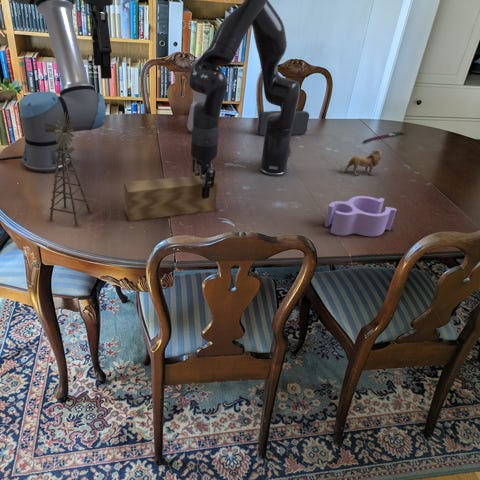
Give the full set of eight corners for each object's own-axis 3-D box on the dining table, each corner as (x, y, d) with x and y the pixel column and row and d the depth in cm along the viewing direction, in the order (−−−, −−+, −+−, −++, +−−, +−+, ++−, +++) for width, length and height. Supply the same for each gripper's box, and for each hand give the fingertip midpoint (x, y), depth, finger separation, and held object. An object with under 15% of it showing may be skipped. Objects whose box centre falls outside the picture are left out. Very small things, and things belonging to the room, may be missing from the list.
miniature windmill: (76, 226, 128) (64, 120, 112) (48, 221, 129) (32, 115, 113) (91, 211, 136) (82, 109, 120) (65, 206, 137) (52, 104, 121)
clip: (337, 240, 135) (342, 219, 131) (318, 218, 145) (322, 198, 141) (395, 233, 141) (402, 213, 137) (373, 213, 151) (378, 194, 147)
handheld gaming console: (303, 132, 210) (307, 110, 205) (306, 134, 208) (310, 112, 203) (256, 133, 203) (259, 111, 198) (258, 135, 201) (261, 113, 196)
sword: (401, 131, 224) (402, 128, 223) (406, 133, 222) (407, 131, 221) (358, 142, 208) (358, 140, 207) (363, 145, 206) (363, 142, 205)
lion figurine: (372, 168, 182) (378, 147, 177) (380, 174, 178) (386, 152, 173) (340, 171, 177) (345, 148, 172) (347, 177, 173) (352, 154, 168)
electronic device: (200, 136, 194) (204, 61, 178) (186, 132, 197) (188, 57, 181) (217, 129, 203) (222, 57, 187) (203, 125, 206) (207, 53, 190)
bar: (129, 221, 134) (128, 191, 129) (125, 210, 138) (123, 182, 133) (215, 210, 143) (217, 182, 138) (209, 201, 148) (210, 174, 143)
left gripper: (120, -5, 113) (124, 84, 124) (104, -18, 131) (108, 60, 143) (88, -7, 110) (95, 84, 122) (76, -20, 129) (83, 60, 140)
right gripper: (226, 149, 129) (221, 202, 138) (208, 130, 139) (205, 181, 148) (200, 150, 126) (197, 205, 135) (184, 131, 137) (183, 183, 146)
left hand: (102, 71), depth 132 cm, fingers open, 13 cm apart
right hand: (201, 192), depth 142 cm, fingers closed on bar, 6 cm apart
